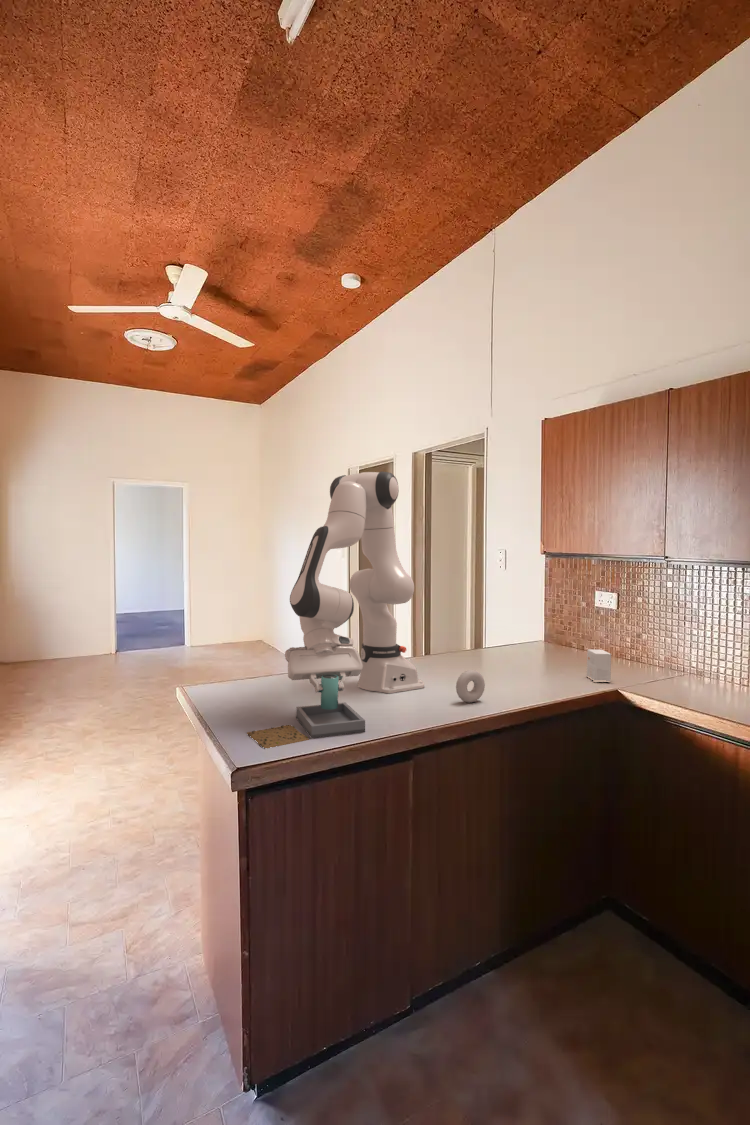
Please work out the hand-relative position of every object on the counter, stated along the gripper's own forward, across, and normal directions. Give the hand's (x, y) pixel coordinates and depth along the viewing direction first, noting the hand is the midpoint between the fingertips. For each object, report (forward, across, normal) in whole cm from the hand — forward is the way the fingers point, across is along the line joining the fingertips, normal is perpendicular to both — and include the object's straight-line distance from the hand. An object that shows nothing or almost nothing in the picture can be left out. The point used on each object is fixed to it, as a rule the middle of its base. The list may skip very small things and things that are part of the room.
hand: (330, 690), depth 142 cm
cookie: (+9, -14, +5) cm, 18 cm away
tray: (+6, 0, +7) cm, 9 cm away
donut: (+2, +47, +11) cm, 48 cm away
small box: (-5, +106, +17) cm, 107 cm away
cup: (+3, 0, +4) cm, 4 cm away
